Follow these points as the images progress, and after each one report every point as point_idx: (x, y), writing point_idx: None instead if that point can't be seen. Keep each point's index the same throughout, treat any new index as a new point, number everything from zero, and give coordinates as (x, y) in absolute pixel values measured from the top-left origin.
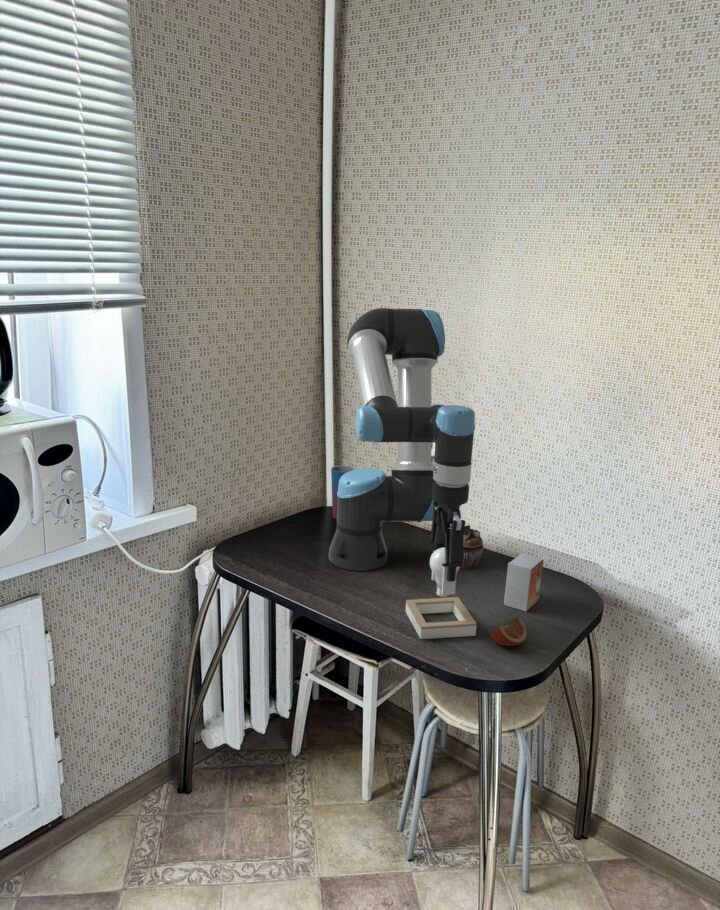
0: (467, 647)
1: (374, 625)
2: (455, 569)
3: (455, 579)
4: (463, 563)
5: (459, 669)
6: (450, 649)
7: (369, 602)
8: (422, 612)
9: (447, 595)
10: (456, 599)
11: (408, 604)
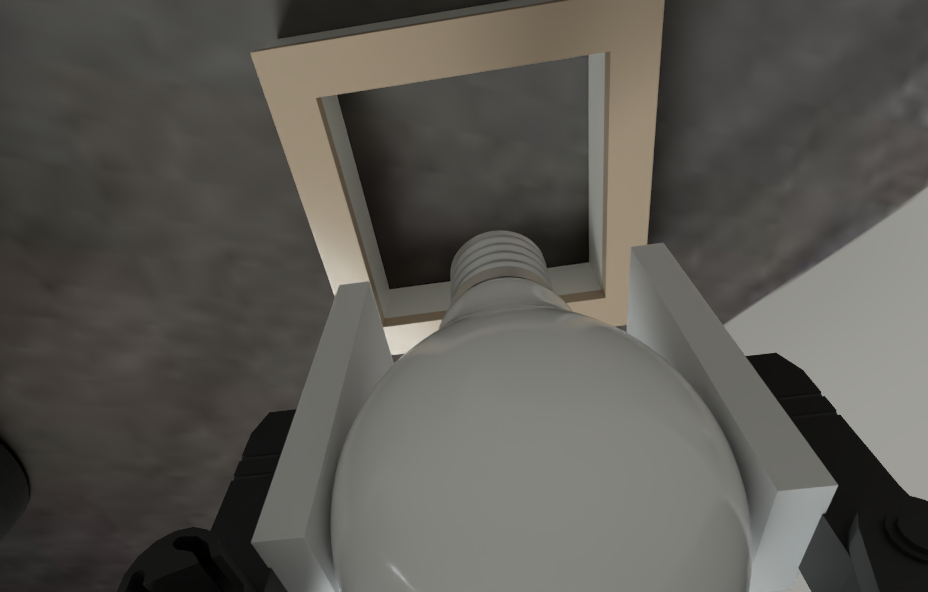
0: (750, 68)
1: None
2: (892, 483)
3: (722, 334)
4: None
5: (923, 154)
6: (741, 166)
7: None
8: (378, 255)
9: (534, 245)
10: (294, 72)
11: (400, 351)
